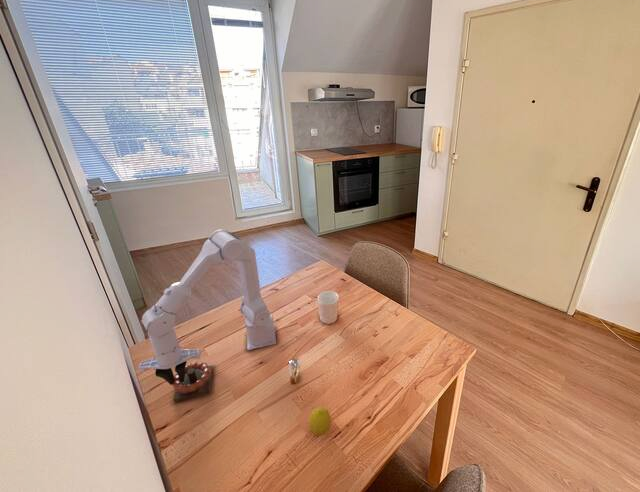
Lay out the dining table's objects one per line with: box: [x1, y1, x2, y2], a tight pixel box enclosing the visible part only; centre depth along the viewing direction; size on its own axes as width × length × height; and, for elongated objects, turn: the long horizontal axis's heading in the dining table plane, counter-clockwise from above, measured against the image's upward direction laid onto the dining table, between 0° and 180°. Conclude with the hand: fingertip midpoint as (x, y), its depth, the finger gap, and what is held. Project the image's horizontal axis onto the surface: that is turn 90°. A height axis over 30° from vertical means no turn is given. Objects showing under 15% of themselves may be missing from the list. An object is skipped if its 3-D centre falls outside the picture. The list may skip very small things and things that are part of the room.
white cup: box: [317, 290, 339, 325], centre depth 113 cm, size 8×8×10 cm
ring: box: [288, 357, 301, 385], centre depth 89 cm, size 7×3×8 cm, turn 174°
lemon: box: [308, 406, 332, 437], centre depth 75 cm, size 6×6×8 cm
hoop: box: [172, 361, 210, 393], centre depth 87 cm, size 10×10×2 cm
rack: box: [173, 365, 213, 403], centre depth 87 cm, size 9×9×6 cm
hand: (177, 380), depth 85 cm, fingers closed on hoop, 2 cm apart
